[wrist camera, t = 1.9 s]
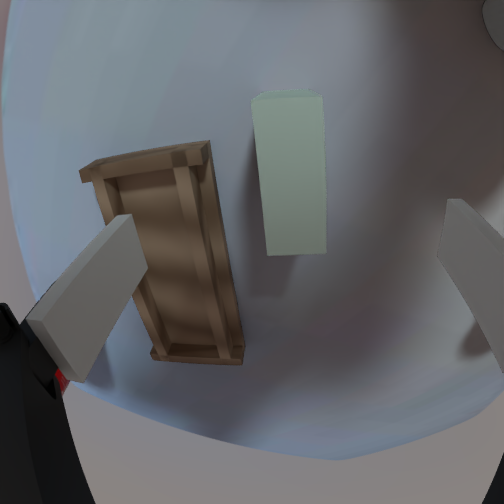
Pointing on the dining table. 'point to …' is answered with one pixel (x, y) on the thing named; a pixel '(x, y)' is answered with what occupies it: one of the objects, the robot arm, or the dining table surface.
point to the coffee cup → (494, 20)
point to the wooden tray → (176, 249)
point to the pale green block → (291, 170)
